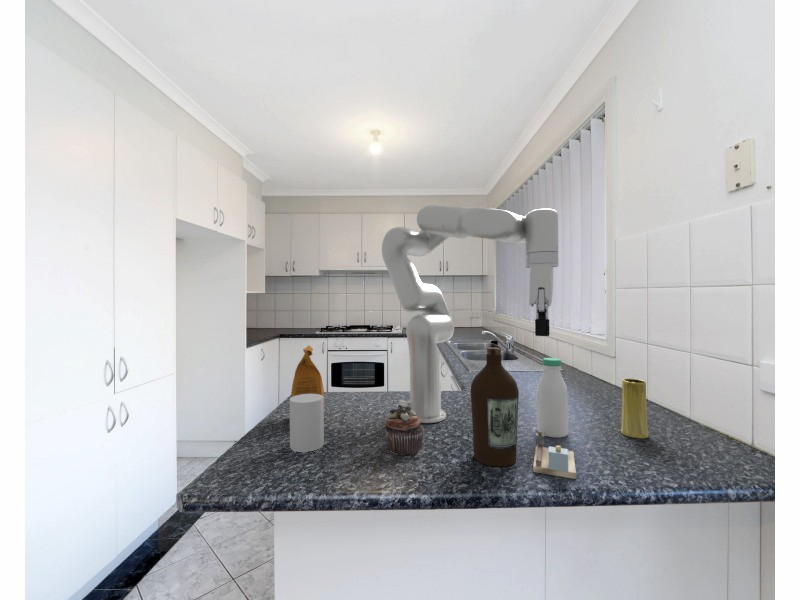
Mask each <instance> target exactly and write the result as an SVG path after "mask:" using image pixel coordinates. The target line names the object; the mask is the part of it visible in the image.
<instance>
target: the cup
mask: <svg viewBox="0 0 800 600" xmlns="http://www.w3.org/2000/svg"><path fill="white" fill-rule="evenodd" d="M324 410H325V406H324V407H323V396H322V395H320V394H301V395H296V396H293V397H291V396H290V398H289V449H290V448H291V449H292V450H293V451H297V452H308V451H314V450H317V449H319V448H321V447H322V446H323V445H324V446H325V435H324V433H325V431H324V430H325V428H324V427H325V426H324V425H325V423H324V422H325V421H324V420H325V419H324V418H325V417H324V415H325V414H324ZM324 446H323V447H324ZM323 447H322V448H323ZM322 448H321V449H322ZM319 450H320V449H319ZM293 451H292V452H293ZM317 451H318V450H317ZM314 452H315V451H314Z"/></svg>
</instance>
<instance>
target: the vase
mask: <svg viewBox="0 0 800 600" xmlns="http://www.w3.org/2000/svg"><path fill="white" fill-rule="evenodd" d="M621 383H622V384H621V388H622V391H621V392H622V393H621V394H622V395H621V398H622V401H621V429H620V432H621V434H622V435H624V436H626V437H629V438H633V439H646V438H648V437H649V433H648V414H647V413H648V412H647V411H648V410H647V407H648V406H647V382H646V381H645V380H643V379H640V378H639V379H638V378H622V382H621Z"/></svg>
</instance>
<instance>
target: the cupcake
mask: <svg viewBox="0 0 800 600" xmlns="http://www.w3.org/2000/svg"><path fill="white" fill-rule="evenodd" d="M387 415H388V416H387V419H386V420H385V426H384V431H385V435H386V440H387V444H388V450H389V449H390V450H391V451H392V452H394V453H397V454H396V455H398V454H411V455H414V454H413V453H415V454H417V452H418V453H419V452H420V451H422V444H423V438H424V433H425V427H424V426H423V425H422V423H420V418H419V417H417V416H416V413H415V412H413V411H412V410H411V408H410V407H405V408H404V407H402V406H401V405H399V404H398V405H397V408H395V409H390V410H389V412H388V414H387ZM390 450H389V451H390ZM391 451H390V452H391ZM392 452H391V453H392ZM394 453H393V454H394Z"/></svg>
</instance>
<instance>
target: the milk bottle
mask: <svg viewBox="0 0 800 600" xmlns="http://www.w3.org/2000/svg"><path fill="white" fill-rule="evenodd" d="M542 367H543V370H542V374H541V375H540V379H539V381H538V384H537V388H536V430H537V433H538V432H539V431H540V432H542V434H544V437H549V438H557V439H558V438H559V439H560V438H566V437H567V436H568V434H569V397H568V396H569V395H568V388H567V384H566V383H565V381H564V378H563V376H562V373H561V368H562V360H561V359H560V358H557V357H544V358H542Z"/></svg>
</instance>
